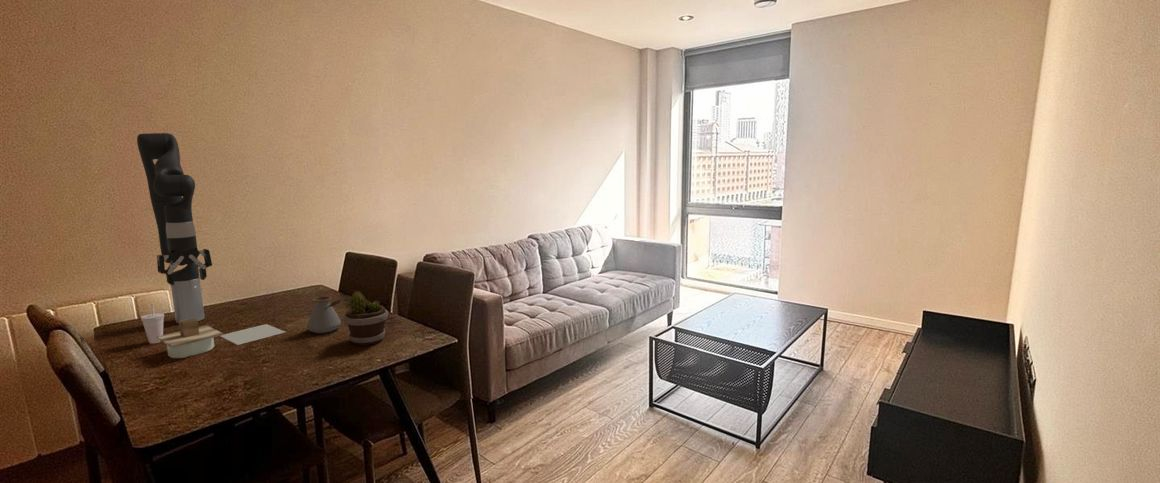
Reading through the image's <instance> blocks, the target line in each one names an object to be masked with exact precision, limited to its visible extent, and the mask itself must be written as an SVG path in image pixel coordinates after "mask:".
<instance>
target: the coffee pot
mask: <svg viewBox="0 0 1160 483" xmlns="http://www.w3.org/2000/svg"><path fill="white" fill-rule="evenodd" d="M331 300H332V297H331V296H328V295H327V296H326V295H325V296H317V297H314V298H312V302H313V304H314V306H313V309H312V312H311V313H310V316H309V319H308V322H307V325H306V328H307V329H308V331H310V332H312V333H315V334H330V333H333V332H334V331H336V330H337V329H338V328H339V327H340V325H341V324H342V323H341V322H342V320H341V319H340V317H339V315H338V314H337V312H336V310H335V309H334V307H333V306H337V307H341V306H342V305H343V303H344V302H343V301H342V300H339V299H338V300H335V301H333V302H332V303H331ZM340 302H341V303H342V304H340V305H339V303H340Z"/></svg>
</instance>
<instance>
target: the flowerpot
mask: <svg viewBox="0 0 1160 483" xmlns="http://www.w3.org/2000/svg"><path fill="white" fill-rule="evenodd" d="M351 295H352V296H351ZM351 295H350V296H349V298H350V299H348V300H349V301H347V303H348V304H349V306H348V309H347V310H346V313H345V314H344V315H343V319H342V321H343V322H344V323H345V324H346V325H347V328H348V330H349V332H350V333H349V334H348V337H349V338H348V339H349V340H350V342H352V343H353V344H354V345H358V346H370V345H375V344H378V343H380V342H382V340H383V338H385V335H386V329H385V325H386V320H387V319H388V317H389V311H388V310H387V309H386V308H385V307H384V305H380V301H378V302H377V300H375V301H373V302H371V300H370V299H368V300H367V297H366V296H365V295H364V294H363V293H362V292H361V291H360V290H358V291H355V290H353V293H351Z"/></svg>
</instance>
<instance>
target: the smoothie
mask: <svg viewBox="0 0 1160 483" xmlns="http://www.w3.org/2000/svg"><path fill="white" fill-rule="evenodd" d="M150 306H151V313H149V314H144V315H142V316H141V317H140V321H142V324H143V327H144V331H145V334H146V337H147V339H148V343H149V344H152V345H153V344H158V343H163V342H162V341H160V340H158V339H157V336H161V335H164V318H165V314H164V312H163V313H161V312H158V313H157V312H156V313H155V307H154V303H151V304H150Z"/></svg>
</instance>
